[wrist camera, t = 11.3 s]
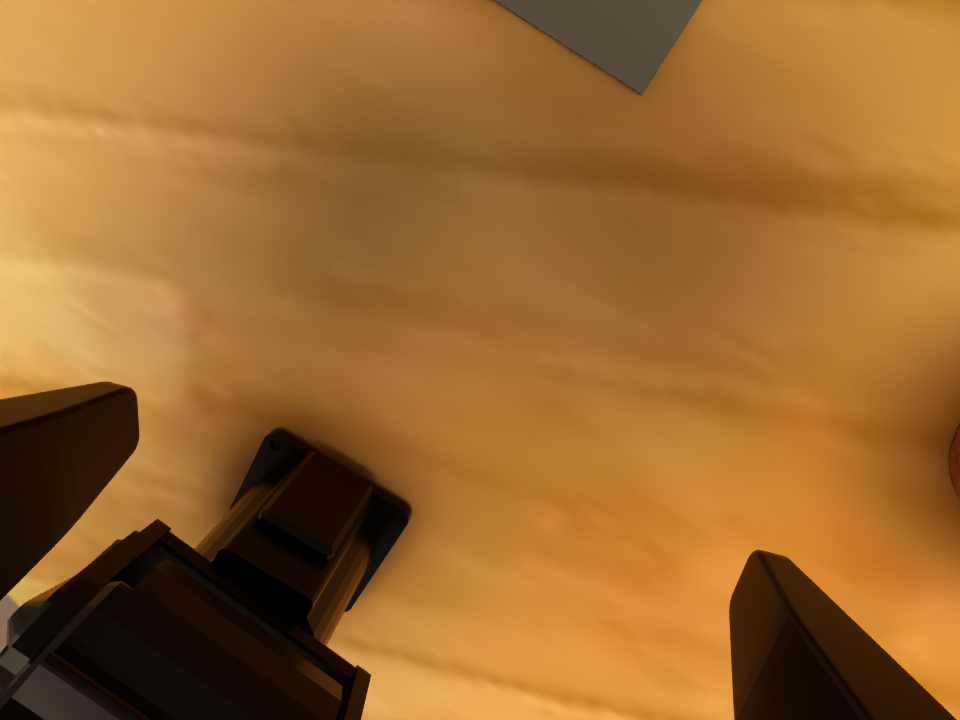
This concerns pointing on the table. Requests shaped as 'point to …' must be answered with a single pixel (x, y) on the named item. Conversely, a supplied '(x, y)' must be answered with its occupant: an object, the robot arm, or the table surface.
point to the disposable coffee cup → (955, 462)
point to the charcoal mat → (612, 31)
